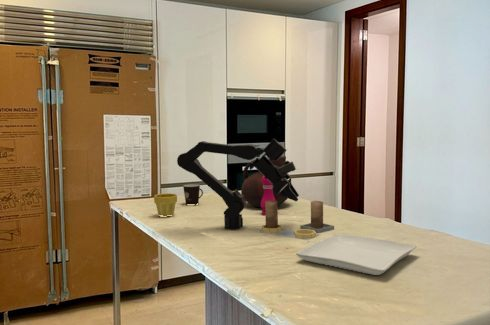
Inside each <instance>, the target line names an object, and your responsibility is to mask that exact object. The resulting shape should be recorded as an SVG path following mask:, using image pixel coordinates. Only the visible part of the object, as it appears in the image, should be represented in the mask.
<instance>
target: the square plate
mask: <svg viewBox="0 0 490 325" xmlns="http://www.w3.org/2000/svg"><path fill="white" fill-rule="evenodd" d="M416 248H417V246H416V245H414V244H408V243H403V242H399V241H398V242H397V241H393V240H387V239H383V238H382V239H381V238H375V237H369V236H361V235H353V234H345V233H335V234H332V235H331V236H330V235H329V236H328V237H326V238H323V239H322V240H319V241H317V242H315V243H313V244H311V245H309V246H306V247H304V248H302V249H300V250H299V251H297V252H296V253H295V254H296V256H298V257H299V258H300V259H302V260H303V261H307V262H309V263H310V262H311V263H315V264H320V265H323V264H324V266H328V265H329V267H332V266H334V267H333V268H337V267H339V268H338V269H342V268H343V269H342V270H347V269H348V271H351V270H353V271H352V272H356V271H357V273H361V272H362V274H368V275H371V276H372V275H374V276H379V275H382V274H383V273H385V272H386V271H388V269H390V268H391V267H392V266H393V265H394V264H396V263H397V262H399V261H400V260H402V259H404V258H405V257H407V256H408V255H409V254H410V253H412V251H413V250H415V249H416Z"/></svg>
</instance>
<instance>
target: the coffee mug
mask: <svg viewBox="0 0 490 325" xmlns="http://www.w3.org/2000/svg"><path fill="white" fill-rule="evenodd" d="M182 187H183V188H182V189H183V193H184V201H185V205H186V204H197V203H198V204H199V202H200V201H199V200H200V199H201V198H202V197H203V194H204V191H203V190H202V189H201V184H196V183H195V184H193V183H192V184H184V185H183V186H182ZM200 191H201V194H200Z"/></svg>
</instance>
